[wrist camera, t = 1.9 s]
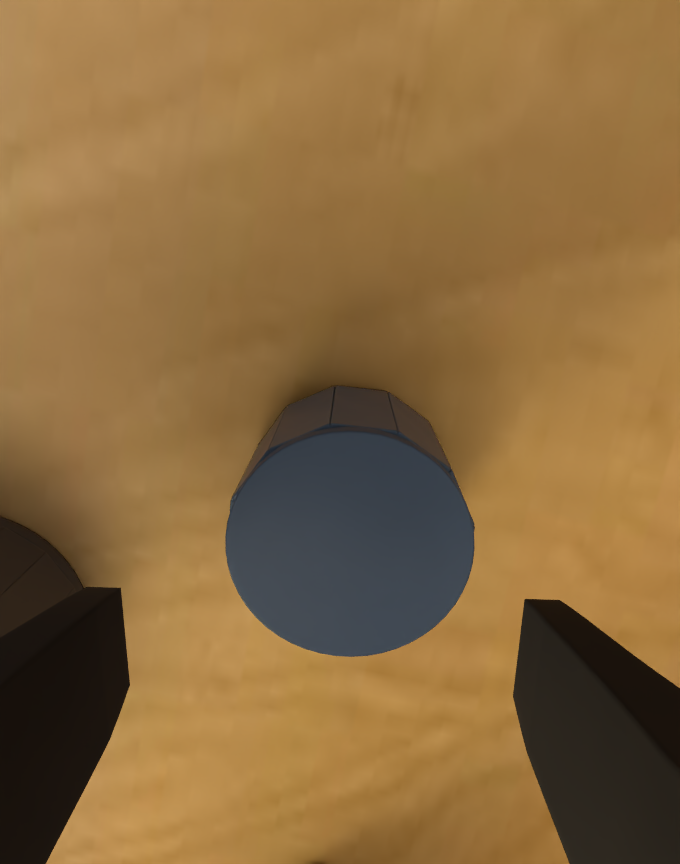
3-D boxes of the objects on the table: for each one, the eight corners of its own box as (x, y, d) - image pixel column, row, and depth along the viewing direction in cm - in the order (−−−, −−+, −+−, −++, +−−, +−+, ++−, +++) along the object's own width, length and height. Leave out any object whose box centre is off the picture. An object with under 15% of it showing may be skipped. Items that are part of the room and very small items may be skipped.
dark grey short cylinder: (484, 461, 18) (527, 527, 14) (368, 597, 19) (373, 696, 15) (329, 347, 17) (321, 378, 13) (219, 498, 19) (178, 573, 14)
